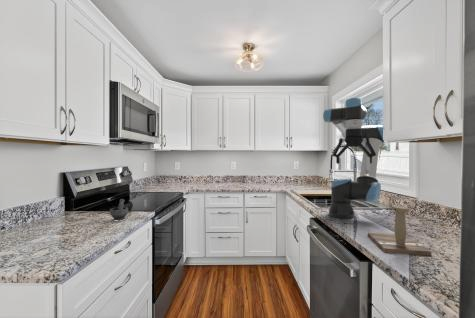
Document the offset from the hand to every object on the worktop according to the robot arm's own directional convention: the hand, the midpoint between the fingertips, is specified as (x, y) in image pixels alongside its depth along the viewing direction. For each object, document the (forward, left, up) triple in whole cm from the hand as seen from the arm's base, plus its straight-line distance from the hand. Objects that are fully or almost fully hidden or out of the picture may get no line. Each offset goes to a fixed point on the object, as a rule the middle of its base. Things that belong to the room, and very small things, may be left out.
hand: (353, 170), depth 123 cm
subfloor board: (+20, +12, -31) cm, 38 cm away
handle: (+24, +12, -29) cm, 39 cm away
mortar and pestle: (+7, -133, -31) cm, 137 cm away
